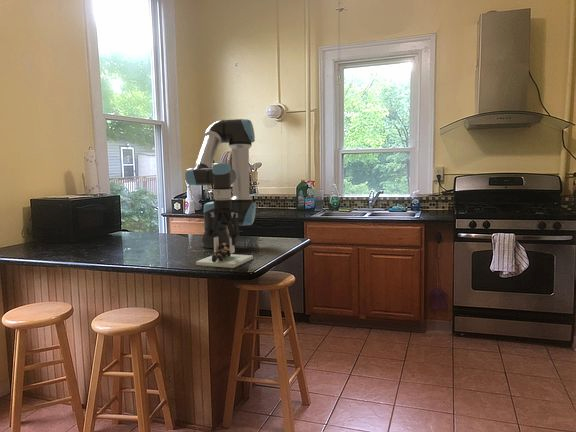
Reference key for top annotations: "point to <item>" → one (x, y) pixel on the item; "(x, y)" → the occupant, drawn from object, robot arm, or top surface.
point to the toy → (222, 252)
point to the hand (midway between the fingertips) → (224, 252)
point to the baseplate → (225, 261)
